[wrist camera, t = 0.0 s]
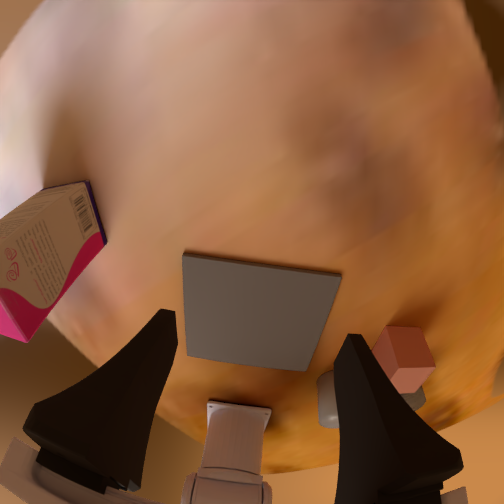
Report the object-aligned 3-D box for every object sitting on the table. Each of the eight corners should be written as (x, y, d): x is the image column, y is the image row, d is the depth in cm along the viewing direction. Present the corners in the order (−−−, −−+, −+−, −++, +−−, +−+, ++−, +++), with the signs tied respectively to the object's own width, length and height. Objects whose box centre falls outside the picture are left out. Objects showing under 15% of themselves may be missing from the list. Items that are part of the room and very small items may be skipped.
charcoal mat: (305, 368, 28) (305, 371, 28) (188, 352, 29) (187, 355, 28) (340, 274, 22) (341, 277, 22) (183, 252, 22) (182, 255, 22)
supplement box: (40, 188, 20) (-55, 262, 10) (90, 178, 19) (-18, 261, 10) (60, 247, 23) (-15, 332, 13) (109, 244, 22) (31, 346, 13)
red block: (403, 354, 27) (414, 392, 22) (370, 353, 27) (379, 394, 23) (420, 327, 25) (435, 367, 20) (385, 325, 25) (398, 368, 20)
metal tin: (406, 388, 30) (413, 414, 27) (376, 389, 30) (382, 417, 27) (423, 366, 28) (433, 394, 24) (392, 367, 28) (400, 397, 25)
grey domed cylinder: (348, 391, 31) (352, 427, 26) (312, 389, 31) (313, 427, 26) (362, 369, 28) (369, 409, 24) (323, 368, 28) (326, 409, 24)
